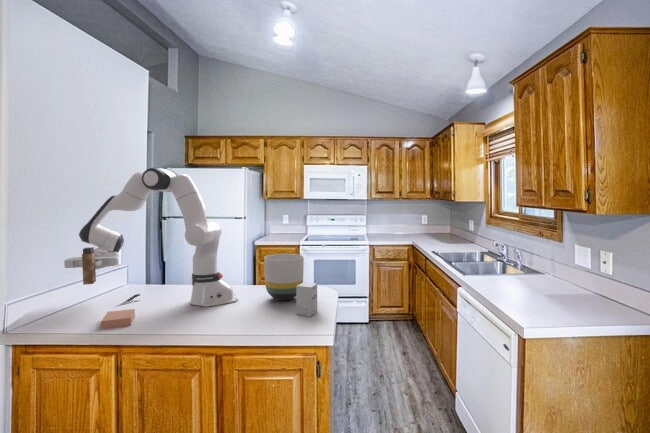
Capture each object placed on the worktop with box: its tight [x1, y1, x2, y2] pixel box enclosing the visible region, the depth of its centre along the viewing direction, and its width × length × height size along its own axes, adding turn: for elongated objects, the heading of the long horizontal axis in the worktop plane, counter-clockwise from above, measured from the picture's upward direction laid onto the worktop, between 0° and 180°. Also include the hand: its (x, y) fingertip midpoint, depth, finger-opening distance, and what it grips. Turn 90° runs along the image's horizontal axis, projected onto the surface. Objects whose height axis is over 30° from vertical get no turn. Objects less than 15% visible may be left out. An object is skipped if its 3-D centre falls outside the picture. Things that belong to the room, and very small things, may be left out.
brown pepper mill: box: [81, 247, 97, 286], centre depth 147 cm, size 4×5×15 cm
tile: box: [100, 308, 136, 330], centre depth 140 cm, size 10×3×12 cm
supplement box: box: [295, 282, 318, 317], centre depth 151 cm, size 7×7×13 cm
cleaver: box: [115, 293, 141, 308], centre depth 166 cm, size 29×1×10 cm
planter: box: [263, 253, 305, 302], centre depth 172 cm, size 20×20×21 cm
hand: (88, 264), depth 146 cm, fingers closed on brown pepper mill, 3 cm apart
